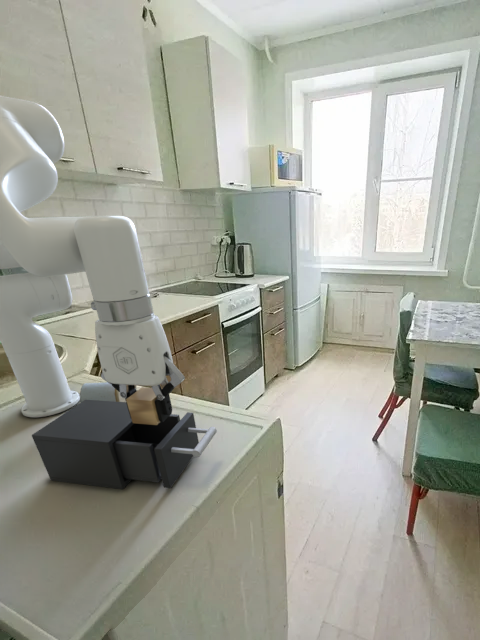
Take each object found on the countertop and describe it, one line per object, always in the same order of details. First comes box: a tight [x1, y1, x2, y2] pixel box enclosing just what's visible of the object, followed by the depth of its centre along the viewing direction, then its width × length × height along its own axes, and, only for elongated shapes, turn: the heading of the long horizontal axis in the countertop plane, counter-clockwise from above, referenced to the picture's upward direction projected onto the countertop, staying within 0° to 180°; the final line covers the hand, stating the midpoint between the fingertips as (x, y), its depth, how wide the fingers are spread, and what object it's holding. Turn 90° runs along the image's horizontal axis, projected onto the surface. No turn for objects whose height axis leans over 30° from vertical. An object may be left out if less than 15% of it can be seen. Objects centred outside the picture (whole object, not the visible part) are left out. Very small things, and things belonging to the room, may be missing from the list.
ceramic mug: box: [79, 381, 126, 403], centre depth 84 cm, size 11×8×8 cm
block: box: [126, 386, 160, 425], centre depth 59 cm, size 4×4×4 cm
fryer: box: [31, 400, 135, 490], centre depth 64 cm, size 15×13×10 cm
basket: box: [112, 411, 218, 489], centre depth 62 cm, size 19×11×8 cm, turn 78°
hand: (151, 415), depth 59 cm, fingers closed on block, 4 cm apart
